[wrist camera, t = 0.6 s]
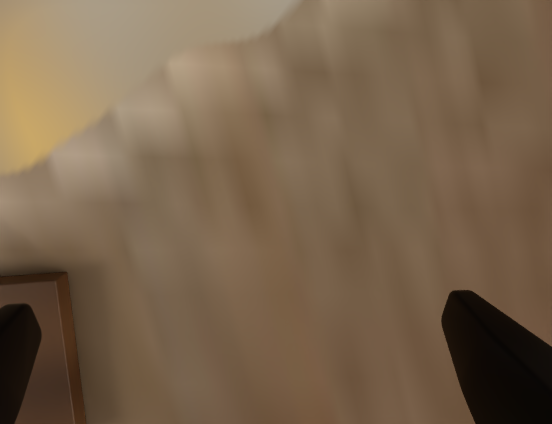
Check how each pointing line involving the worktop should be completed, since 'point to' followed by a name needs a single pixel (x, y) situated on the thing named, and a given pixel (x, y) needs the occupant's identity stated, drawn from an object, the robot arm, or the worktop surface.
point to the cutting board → (49, 350)
